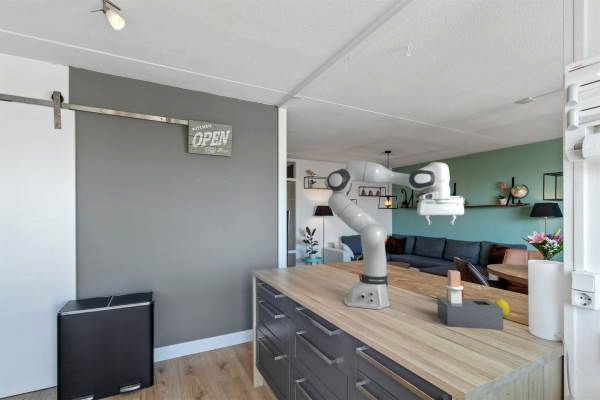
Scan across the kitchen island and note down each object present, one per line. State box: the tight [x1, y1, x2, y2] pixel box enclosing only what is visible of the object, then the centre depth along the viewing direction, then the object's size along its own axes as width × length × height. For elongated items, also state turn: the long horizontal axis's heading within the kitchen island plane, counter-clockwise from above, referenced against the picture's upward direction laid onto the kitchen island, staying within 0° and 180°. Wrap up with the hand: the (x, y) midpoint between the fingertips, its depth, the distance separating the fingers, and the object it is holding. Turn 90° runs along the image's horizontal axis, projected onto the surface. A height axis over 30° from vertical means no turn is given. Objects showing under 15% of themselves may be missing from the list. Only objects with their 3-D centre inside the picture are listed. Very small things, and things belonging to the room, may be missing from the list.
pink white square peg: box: [445, 269, 464, 304], centre depth 116 cm, size 6×6×12 cm
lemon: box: [493, 298, 511, 319], centre depth 119 cm, size 6×6×8 cm
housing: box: [436, 296, 504, 331], centre depth 115 cm, size 20×12×8 cm, turn 81°
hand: (440, 225), depth 132 cm, fingers open, 8 cm apart
